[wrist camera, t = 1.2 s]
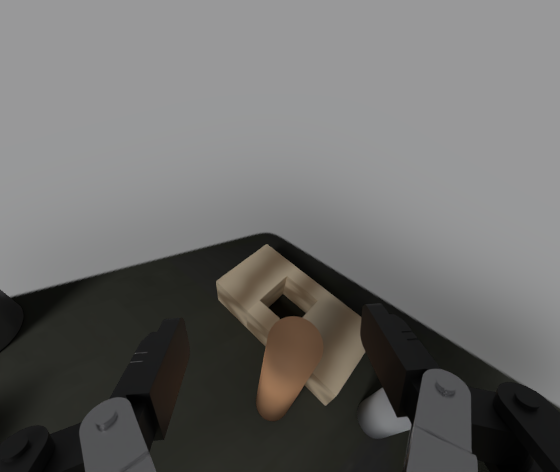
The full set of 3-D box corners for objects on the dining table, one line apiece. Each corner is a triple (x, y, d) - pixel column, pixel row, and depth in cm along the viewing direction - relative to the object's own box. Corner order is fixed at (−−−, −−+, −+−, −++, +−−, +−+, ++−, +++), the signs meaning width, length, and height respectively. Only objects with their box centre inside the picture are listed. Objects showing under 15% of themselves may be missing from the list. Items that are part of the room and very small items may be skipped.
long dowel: (248, 401, 31) (255, 343, 18) (271, 375, 34) (292, 306, 21) (273, 430, 30) (299, 388, 17) (295, 400, 32) (334, 342, 19)
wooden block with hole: (218, 299, 40) (216, 281, 36) (264, 263, 45) (266, 244, 42) (325, 405, 32) (336, 395, 28) (365, 345, 38) (379, 330, 34)
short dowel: (350, 419, 31) (379, 402, 25) (367, 391, 34) (397, 369, 27) (380, 448, 30) (420, 438, 23) (395, 416, 32) (435, 400, 25)
